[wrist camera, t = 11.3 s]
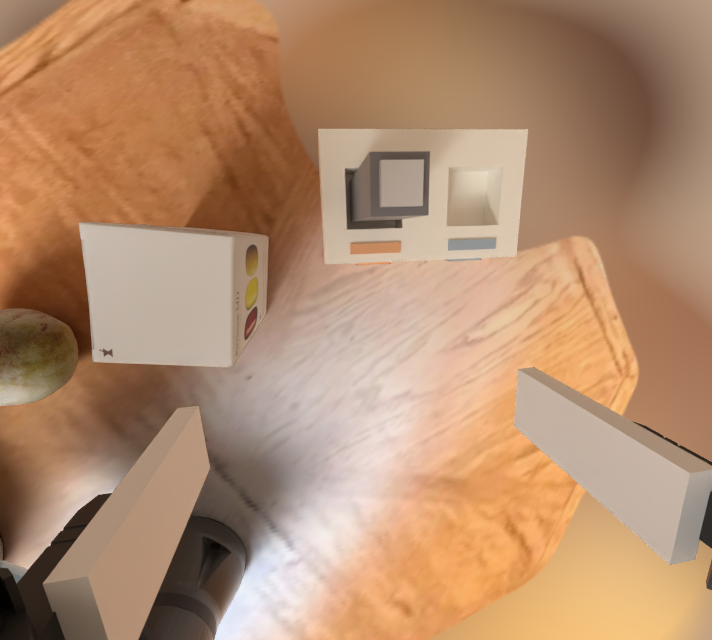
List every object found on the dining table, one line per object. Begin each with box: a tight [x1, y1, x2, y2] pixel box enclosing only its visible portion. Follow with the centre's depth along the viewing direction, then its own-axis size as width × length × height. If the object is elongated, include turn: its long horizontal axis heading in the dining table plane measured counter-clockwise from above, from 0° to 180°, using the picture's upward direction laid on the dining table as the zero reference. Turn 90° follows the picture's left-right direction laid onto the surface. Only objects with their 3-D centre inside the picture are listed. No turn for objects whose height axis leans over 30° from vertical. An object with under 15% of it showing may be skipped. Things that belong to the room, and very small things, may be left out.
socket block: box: [318, 129, 528, 265], centre depth 35 cm, size 20×12×6 cm, turn 91°
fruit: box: [0, 308, 78, 406], centre depth 31 cm, size 10×9×12 cm
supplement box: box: [79, 222, 269, 367], centre depth 29 cm, size 10×9×17 cm
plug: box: [349, 151, 430, 222], centre depth 28 cm, size 4×4×14 cm
